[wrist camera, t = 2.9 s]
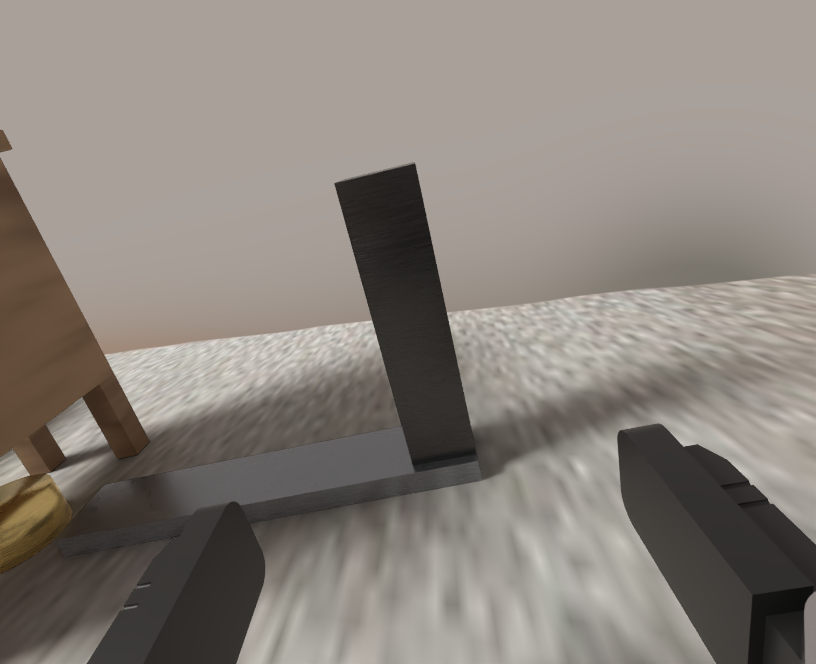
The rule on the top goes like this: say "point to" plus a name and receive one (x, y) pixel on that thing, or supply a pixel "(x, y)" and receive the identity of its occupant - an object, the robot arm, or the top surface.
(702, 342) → the top surface
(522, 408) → the top surface
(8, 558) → the brass puck
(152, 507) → the grey l-shaped bracket
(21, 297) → the walnut cabinet
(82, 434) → the top surface
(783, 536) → the robot arm
